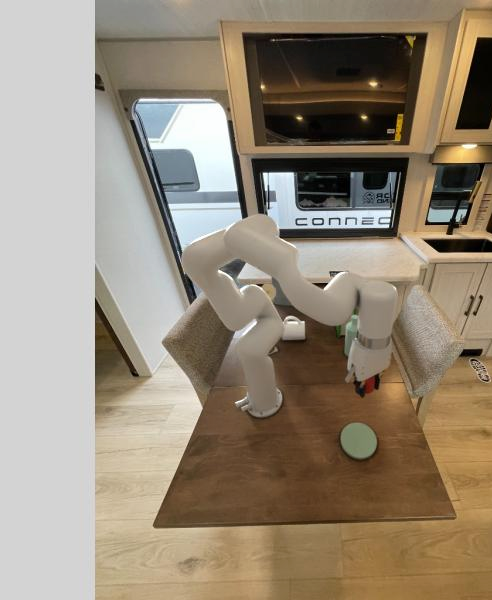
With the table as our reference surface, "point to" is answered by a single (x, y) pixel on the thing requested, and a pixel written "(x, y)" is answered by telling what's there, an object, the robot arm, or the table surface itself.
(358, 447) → the coaster
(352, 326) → the bottle
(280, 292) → the hip flask
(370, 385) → the cap
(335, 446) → the table surface
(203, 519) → the table surface
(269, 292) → the flower in vase
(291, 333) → the mug
